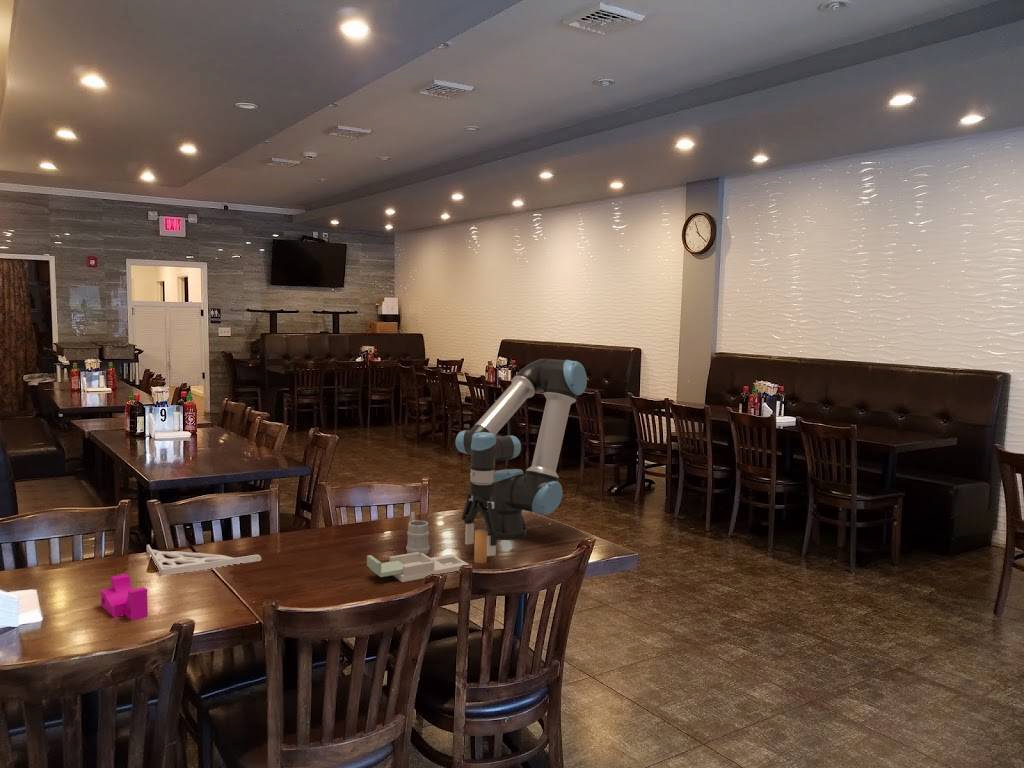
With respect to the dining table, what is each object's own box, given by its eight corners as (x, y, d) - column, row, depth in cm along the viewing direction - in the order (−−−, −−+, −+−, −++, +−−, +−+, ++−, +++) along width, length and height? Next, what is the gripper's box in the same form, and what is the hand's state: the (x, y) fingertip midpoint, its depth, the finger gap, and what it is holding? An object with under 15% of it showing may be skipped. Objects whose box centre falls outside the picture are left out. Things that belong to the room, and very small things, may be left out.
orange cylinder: (482, 559, 238) (483, 528, 237) (489, 563, 235) (489, 532, 234) (471, 561, 236) (472, 530, 235) (478, 565, 233) (478, 533, 232)
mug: (410, 557, 238) (411, 520, 237) (398, 547, 249) (399, 511, 248) (433, 554, 242) (433, 518, 241) (420, 544, 252) (421, 509, 251)
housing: (451, 560, 237) (452, 546, 236) (468, 570, 228) (469, 556, 227) (386, 571, 225) (387, 557, 224) (402, 583, 216) (402, 567, 215)
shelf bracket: (146, 552, 240) (146, 543, 240) (237, 539, 256) (237, 531, 256) (162, 579, 217) (161, 569, 217) (261, 562, 233) (261, 554, 233)
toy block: (101, 607, 194) (100, 579, 193) (126, 601, 198) (126, 573, 197) (120, 625, 183) (120, 595, 183) (147, 618, 188) (147, 589, 187)
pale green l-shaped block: (397, 564, 225) (397, 550, 224) (408, 572, 218) (409, 558, 218) (366, 569, 220) (367, 555, 219) (377, 577, 213) (377, 563, 213)
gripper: (452, 476, 242) (450, 540, 243) (492, 491, 221) (490, 562, 222) (472, 474, 246) (470, 537, 247) (514, 489, 225) (511, 558, 227)
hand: (480, 549), depth 235 cm, fingers open, 13 cm apart
